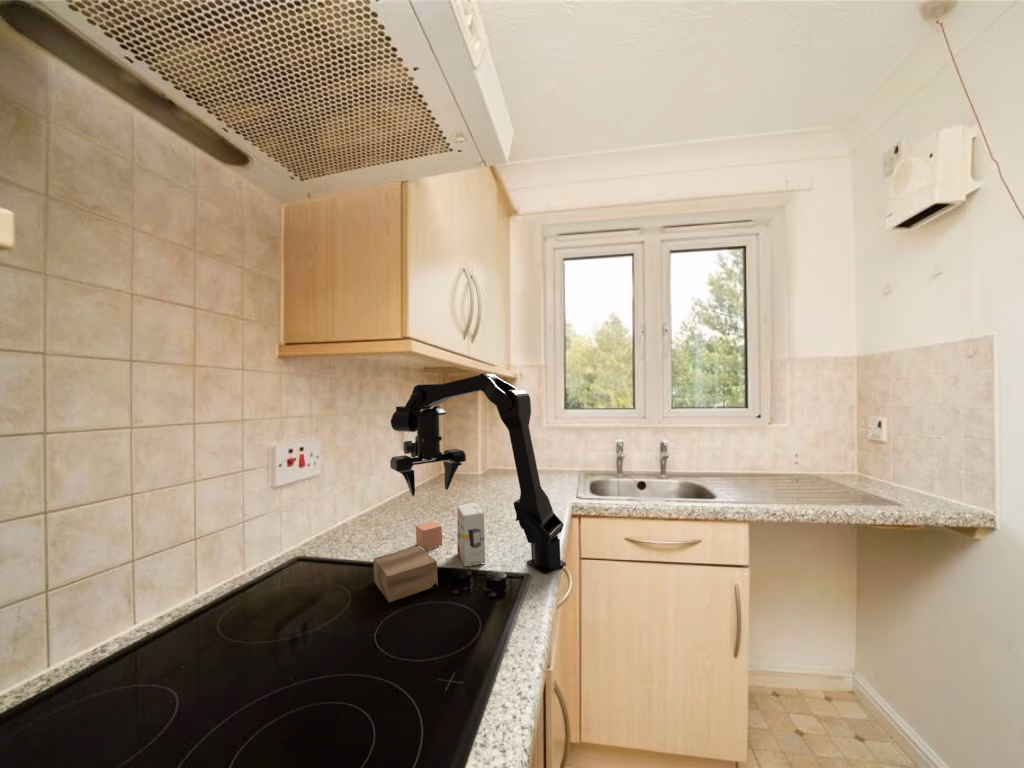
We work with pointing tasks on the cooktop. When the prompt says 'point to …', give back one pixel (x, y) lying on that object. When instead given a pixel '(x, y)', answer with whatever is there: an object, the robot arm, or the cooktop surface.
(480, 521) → the ink box
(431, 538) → the terracotta cube
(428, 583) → the walnut block
